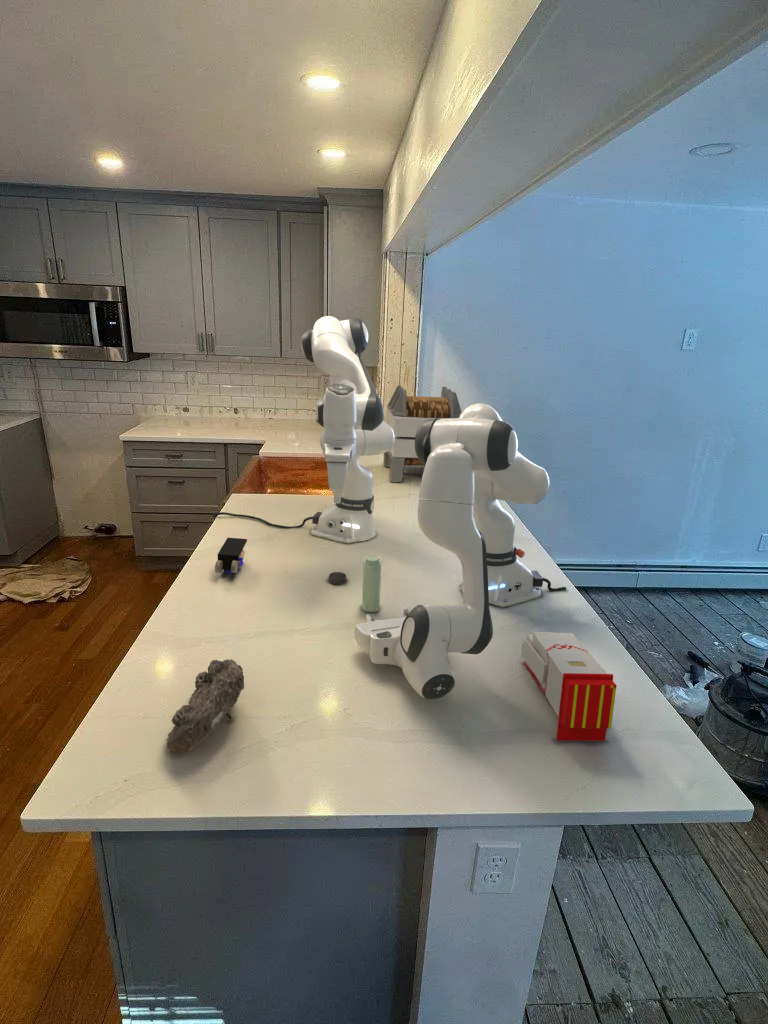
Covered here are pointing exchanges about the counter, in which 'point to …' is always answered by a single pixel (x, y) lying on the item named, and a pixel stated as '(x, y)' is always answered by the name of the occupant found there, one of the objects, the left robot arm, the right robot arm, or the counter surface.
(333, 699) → the counter surface
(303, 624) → the counter surface
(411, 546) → the counter surface
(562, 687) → the toy
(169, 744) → the fossil
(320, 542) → the counter surface
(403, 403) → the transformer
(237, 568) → the figurine character
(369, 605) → the jar
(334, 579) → the lid
